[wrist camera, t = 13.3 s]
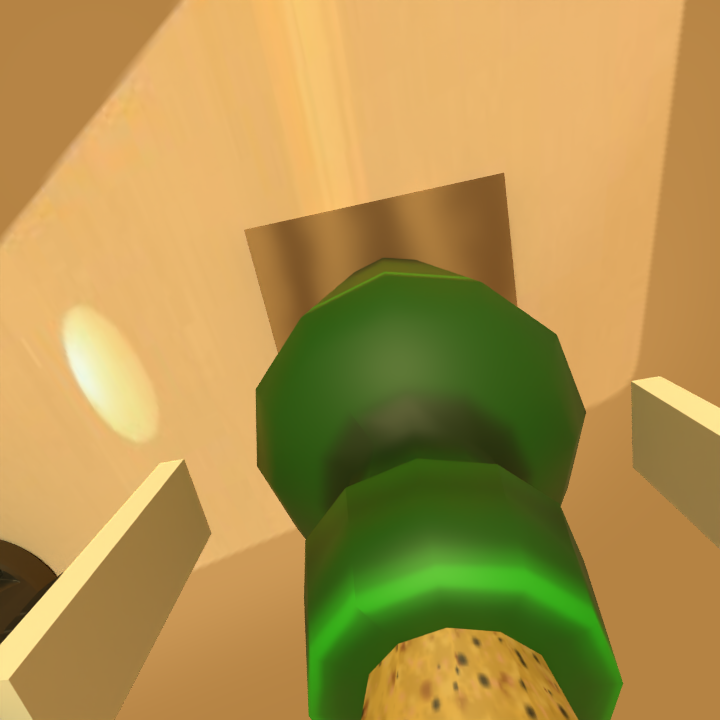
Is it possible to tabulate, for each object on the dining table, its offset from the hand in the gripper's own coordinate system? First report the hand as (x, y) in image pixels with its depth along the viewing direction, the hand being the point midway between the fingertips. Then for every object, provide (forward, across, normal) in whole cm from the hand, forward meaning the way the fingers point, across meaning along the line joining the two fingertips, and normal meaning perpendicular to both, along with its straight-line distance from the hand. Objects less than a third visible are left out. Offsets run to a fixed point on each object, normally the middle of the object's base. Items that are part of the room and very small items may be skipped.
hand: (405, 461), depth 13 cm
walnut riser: (+23, 0, 0) cm, 23 cm away
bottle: (+20, +1, 0) cm, 20 cm away
